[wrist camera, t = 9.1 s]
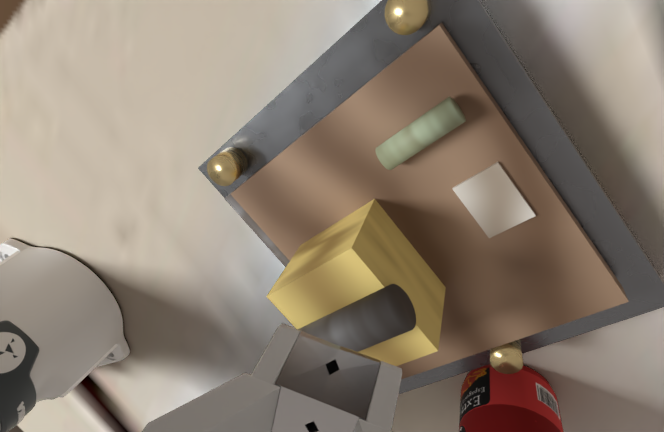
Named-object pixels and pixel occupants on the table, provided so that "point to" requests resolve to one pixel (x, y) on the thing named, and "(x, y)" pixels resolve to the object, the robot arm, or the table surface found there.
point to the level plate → (421, 222)
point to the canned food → (508, 402)
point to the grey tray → (518, 106)
